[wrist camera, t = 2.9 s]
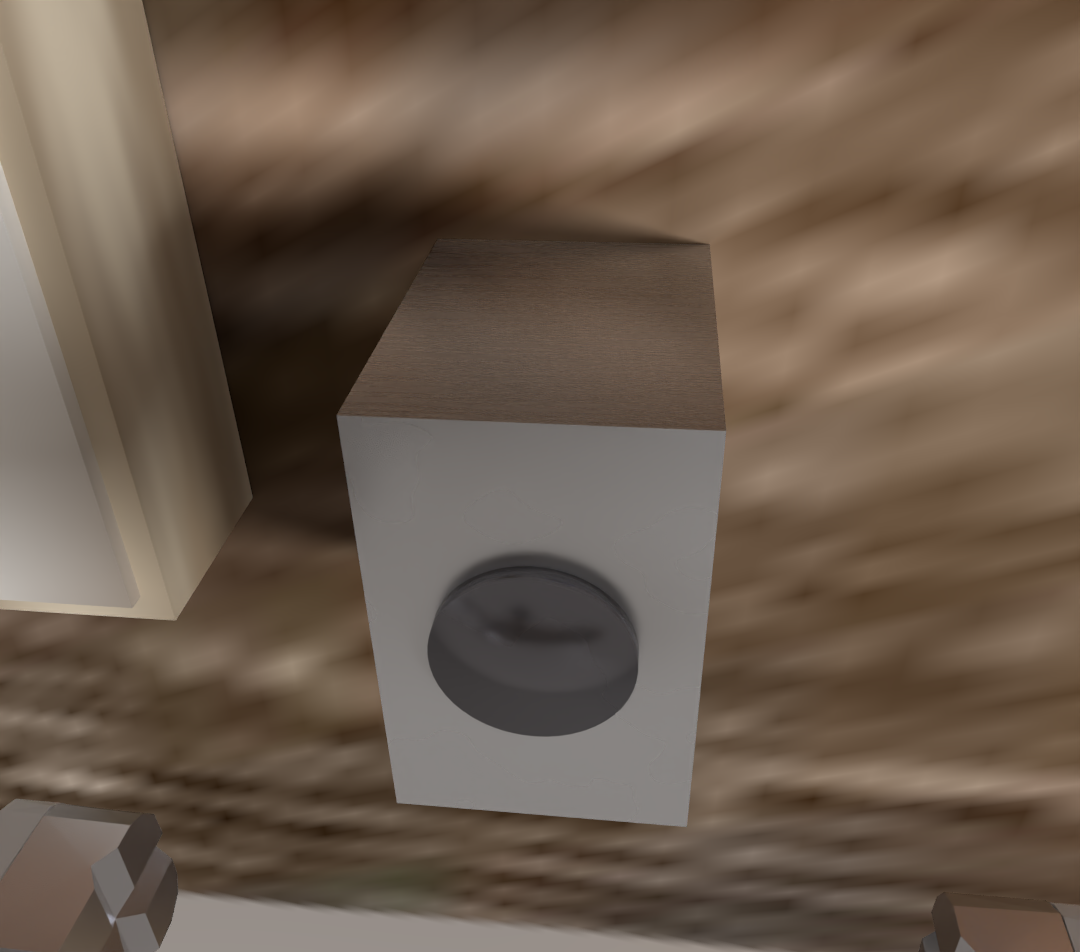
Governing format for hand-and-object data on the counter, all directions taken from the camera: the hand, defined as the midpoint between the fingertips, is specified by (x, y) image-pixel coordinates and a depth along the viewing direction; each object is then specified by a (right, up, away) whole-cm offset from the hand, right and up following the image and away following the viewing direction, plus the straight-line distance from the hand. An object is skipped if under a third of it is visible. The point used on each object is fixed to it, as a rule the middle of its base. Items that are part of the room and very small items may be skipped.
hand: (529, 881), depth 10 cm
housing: (+1, +5, +8) cm, 10 cm away
